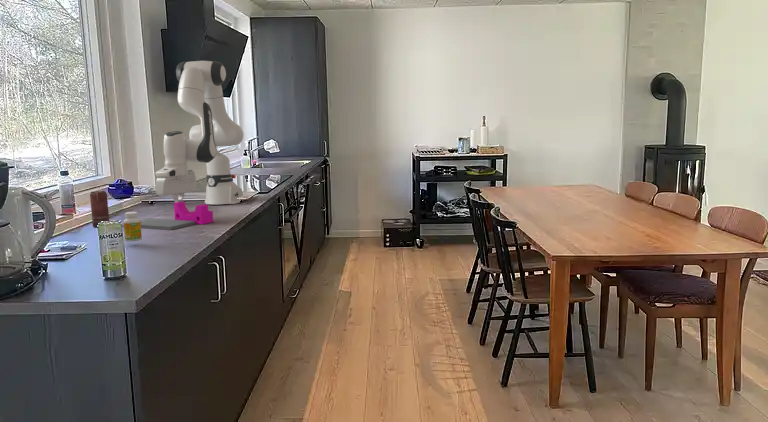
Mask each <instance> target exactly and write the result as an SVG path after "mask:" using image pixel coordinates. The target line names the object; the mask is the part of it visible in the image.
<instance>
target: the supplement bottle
mask: <svg viewBox="0 0 768 422" xmlns="http://www.w3.org/2000/svg"><path fill="white" fill-rule="evenodd" d="M138 216H139V215H138V212H137V211H127V212H125V213H124V217H125V219H123V230H124V241H125V242H138V241H141V240H143V239H142V237H143V235H142V228H141V222H140V220H141V219H140V218H139V217H138Z"/></svg>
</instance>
